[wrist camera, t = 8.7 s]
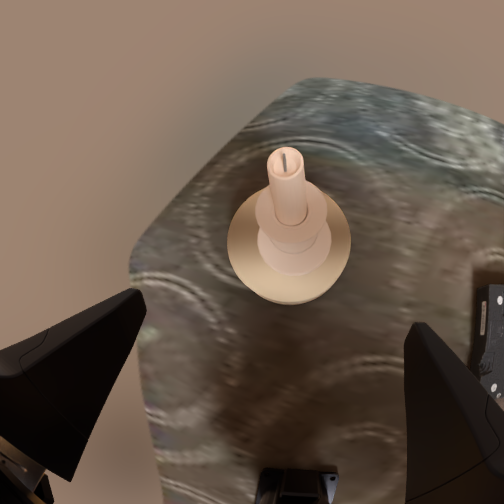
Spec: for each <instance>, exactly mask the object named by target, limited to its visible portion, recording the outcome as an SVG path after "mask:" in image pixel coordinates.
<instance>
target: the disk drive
mask: <svg viewBox="0 0 504 504" xmlns="http://www.w3.org/2000/svg"><path fill="white" fill-rule="evenodd" d="M470 371H471V373H472V374H473V375H474V376H475V377H476V378H477V380H478V381H479V382H480V383H481V384H482V385H483V387H484V388H485V389H486V390H487V392H488V394H490V395H491V396H492V398H493V399H494V400H495V399H497V398H503V397H504V285H503V284H498V285H496V284H489V285H485V286H482V287H480V288H478V289H477V310H476V326H475V336H474V346H473V354H472V361H471V367H470Z"/></svg>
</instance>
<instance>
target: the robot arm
mask: <svg viewBox="0 0 504 504" xmlns="http://www.w3.org/2000/svg"><path fill="white" fill-rule="evenodd" d="M146 311H147V309H146V305H145V301H144V298H143V295H142V292H141V291H140V290H138V289H134V288H129V289H127V290H125V291H123V292H121V293H118V294H117V295H115V296H112V297H110V298H108V299H106V300H104V301H102V302H100V303H98V304H96V305H94V306H92V307H90V308H88V309H86V310H84V311H82V312H80V313H78V314H76V315H74V316H72V317H70V318H68V319H66V320H64V321H62V322H60V323H58V324H56V325H54V326H52V327H51V328H48V329H46V330H44V331H42V332H40V333H38V334H36V335H34V336H32V337H30V338H28V339H25V340H23V341H21V342H18V343H16V344H14V345H11V346H9V347H7V348H4V349H2V350H0V504H53V503H54V498H53V495H52V491H51V487H50V484H49V480H48V476H47V475H46V474H45V471H46V469H48V470H49V471H51V472H53V473H54V474H56V475H58V476H59V477H61V478H63V479H65V480H67V481H68V482H71V481H72V478H73V476H74V473H75V471H76V468H77V466H78V463H79V461H80V459H81V456H82V454H83V451H84V449H85V447H86V444H87V442H88V439H89V437H90V435H91V432H92V430H93V428H94V425H95V423H96V421H97V419H98V417H99V415H100V413H101V410H102V408H103V406H104V404H105V402H106V400H107V397H108V395H109V393H110V391H111V389H112V387H113V385H114V383H115V381H116V379H117V377H118V375H119V373H120V371H121V369H122V367H123V365H124V363H125V361H126V359H127V357H128V355H129V354H130V351H131V349H132V347H133V345H134V342H135V340H136V337H137V335H138V332H139V330H140V327H141V325H142V323H143V320H144V318H145V315H146ZM404 392H405V405H406V422H407V482H406V498H405V504H504V411H503V410H502V409H501V407H500V406H499V405H498V404H497V403H496V401H495V400H494V399H493V398H492V396H491V395H490V394H488V392H487V390H486V389H485V388H484V387H483V385H482V384H481V383H480V382H479V381H478V380H477V378H476V377H475V376H474V375H473V374H472V373H471V371H470V370H469V369H468V368H467V367H466V366H465V364H464V363H463V362H462V361H461V360H460V359H459V358H458V357H457V355H456V354H455V353H454V352H453V351H452V350H451V349H450V348H449V347H448V346H447V345H446V343H445V342H444V341H443V340H442V339H441V338H440V337H439V336H438V335H437V334H436V333H435V332H434V331H433V330H432V329H431V328H430V327H429V325H428V324H426V323H425V322H414V323H413V324H412V326H411V328H410V330H409V333H408V335H407V337H406V339H405V342H404ZM265 472H269V473H270V474H268V475H267V474H265ZM333 476H334V477H335V478H334V479H331V477H333ZM338 480H339V476H338V473H336V472H317V471H314V470H296V469H286V470H282V469H273V468H264V469H263V470H262V472H261V476H260V482H259V488H258V494H257V499H256V504H331V503H332V500H333V497H334V493H335V490H336V487H337V483H338Z"/></svg>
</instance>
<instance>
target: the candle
mask: <svg viewBox="0 0 504 504" xmlns="http://www.w3.org/2000/svg"><path fill="white" fill-rule="evenodd" d="M267 170H268V177H269V183H270V184H269V185H268V186H267V187H266V188H265V189H264V190H263V191H262V192H261V194H260V196H259V197H258V199H257V203H256V206H255V215H256V219H257V223H258V225H259V226H260V228H259V232H258V239H257V244H258V248H259V252H260V254H261V256H262V258H263V259H264V261H265V263H266V264H267V265H268V266H270V267H271V268H272V269H273V270H275V271H277V272H278V273H280V274H284V275H288V276H301V275H305V274H308V273H311V272H312V271H314V270H315V269H317V268H318V267H319V266H320V265H321V264H322V263H323V262H324V261H325V259H326V257H327V256H328V254H329V251H330V247H331V242H332V241H331V231H330V229H329V226H328V223H327V222H326V217H327V203H326V200H325V198H324V195H323V194H322V193H321V191H320V190H319V189H318V188H317V187H316V186H315V185H313V184H312V183H310V182H308V181H306V180H305V173H304V161H303V157H302V155H301V154H300V152H299V151H297V150H296V149H294V148H291V147H282V148H279V149H277V150H275V151H274V152H273V153H272V154H271V155H270V156H269V158H268V161H267Z"/></svg>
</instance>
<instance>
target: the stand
mask: <svg viewBox="0 0 504 504" xmlns="http://www.w3.org/2000/svg"><path fill="white" fill-rule="evenodd" d="M264 189H265V188H264ZM264 189H262V190H260V191H258V192H256V193H255V194H253V195H252V196H250V197H249V198H248V199H247V200H246V201H245V202H244V203H243V204H242V205H241V206H240V207H239V209H238V210H237V212H236V213H235V215H234V217H233V219H232V221H231V224H230V227H229V231H228V238H227V249H228V255H229V259H230V262H231V265H232V267H233V269H234V271H235V273H236V274H237V275H238V277H239V278H240V279H241V281H242V282H243V283H244V284H245V285H246V286H248V287H249V288H250V289H251V290H252V291H254V292H255V293H256V294H258V295H259V296H261V297H262V298H264V299H266V300H268V301H270V302H273V303H277V304H282V305H298V304H303V303H307V302H310V301H312V300H315V299H317V298H318V297H320V296H322V295H323V294H324V293H325V292H327V291H328V290H329V289H330V288H331V287H332V286H333V284H334V283H335V282H336V280H337V279H338V277H339V276H340V274H341V273H342V271H343V269H344V267H345V266H346V263H347V260H348V258H349V253H350V247H351V235H350V229H349V225H348V222H347V220H346V217H345V215H344V214H343V212H342V210H341V209H340V207H339V206H338V205H337V204H336V203H335V202H334V200H332V199H331V198H330V197H329V196H328V195H326V194H325V193H323V192H322V191H321V193H322V194H323V195H324V198H325V200H326V203H327V217H326V222H327V223H328V226H329V229H330V231H331V241H332V242H331V247H330V251H329V254H328V256H327V257H326V259H325V261H324V262H323V263H322V264H321V265H320V266H319V267H318V268H317V269H315V270H314V271H312V272H311V273H308V274H305V275H301V276H288V275H284V274H280V273H278V272H277V271H275V270H273V269H272V268H271V267H270V266H268V265H267V264H266V263H265V261H264V259H263V258H262V256H261V254H260V252H259V248H258V244H257V239H258V232H259V228H260V226H259V225H258V223H257V219H256V215H255V206H256V203H257V199H258V197H259V196H260V194H261V192H262V191H263V190H264Z"/></svg>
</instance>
